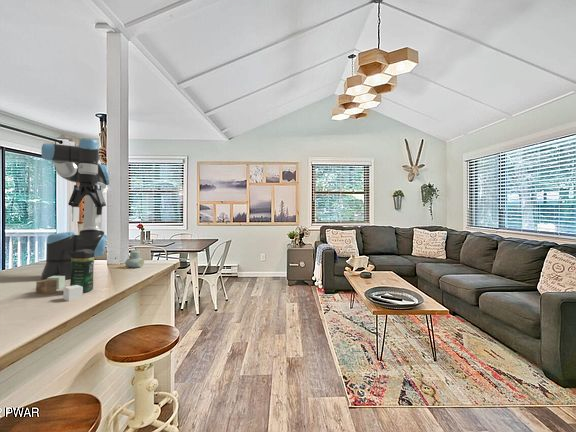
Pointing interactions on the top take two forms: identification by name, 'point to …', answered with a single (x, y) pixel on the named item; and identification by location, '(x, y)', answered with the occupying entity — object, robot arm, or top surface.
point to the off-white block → (73, 293)
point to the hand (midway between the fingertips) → (86, 222)
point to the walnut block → (46, 286)
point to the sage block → (58, 281)
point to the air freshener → (134, 260)
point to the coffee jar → (82, 269)
